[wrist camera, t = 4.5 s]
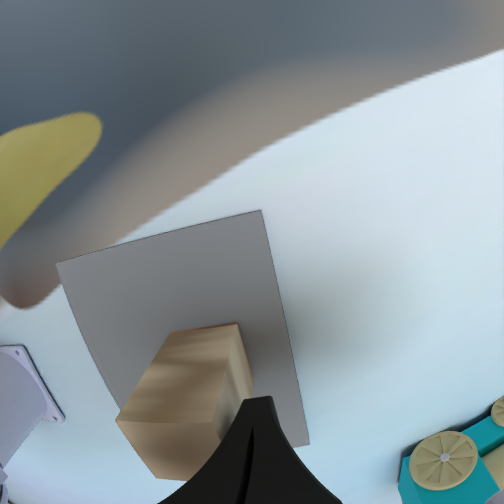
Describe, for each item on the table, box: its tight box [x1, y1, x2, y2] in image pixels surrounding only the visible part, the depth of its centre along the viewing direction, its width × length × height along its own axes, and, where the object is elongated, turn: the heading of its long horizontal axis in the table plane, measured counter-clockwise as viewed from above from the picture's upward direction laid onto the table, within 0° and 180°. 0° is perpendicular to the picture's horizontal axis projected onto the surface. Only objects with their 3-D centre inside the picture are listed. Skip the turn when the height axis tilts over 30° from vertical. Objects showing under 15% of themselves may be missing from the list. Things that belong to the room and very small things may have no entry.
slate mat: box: [56, 210, 310, 448], centre depth 17 cm, size 13×17×1 cm
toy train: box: [398, 397, 504, 504], centre depth 12 cm, size 8×17×15 cm, turn 105°
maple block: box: [115, 323, 254, 481], centre depth 13 cm, size 4×4×8 cm
